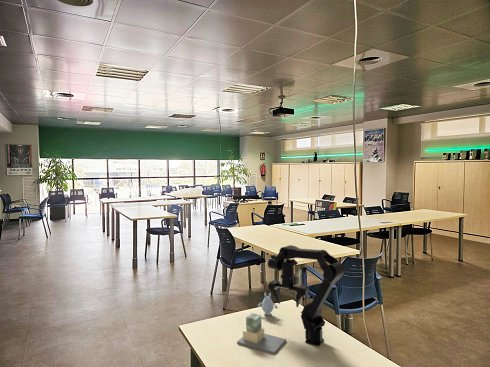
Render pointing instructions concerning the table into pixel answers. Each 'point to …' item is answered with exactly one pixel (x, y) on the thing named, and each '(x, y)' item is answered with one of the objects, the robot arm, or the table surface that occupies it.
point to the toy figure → (267, 305)
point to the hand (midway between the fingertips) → (288, 305)
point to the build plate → (261, 341)
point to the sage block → (253, 322)
